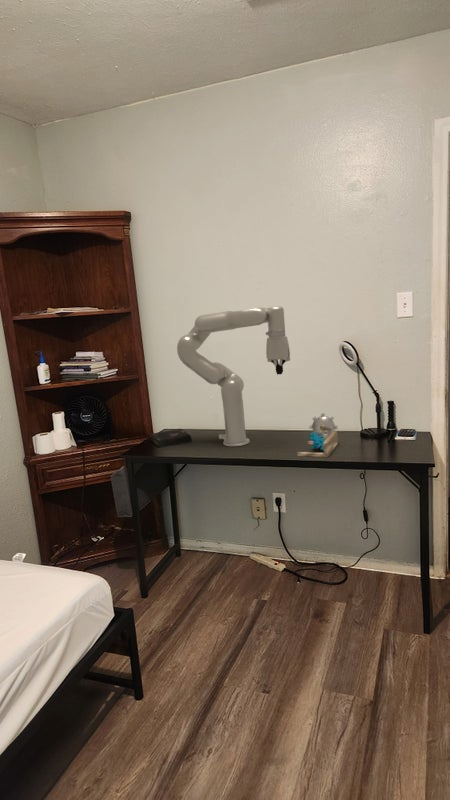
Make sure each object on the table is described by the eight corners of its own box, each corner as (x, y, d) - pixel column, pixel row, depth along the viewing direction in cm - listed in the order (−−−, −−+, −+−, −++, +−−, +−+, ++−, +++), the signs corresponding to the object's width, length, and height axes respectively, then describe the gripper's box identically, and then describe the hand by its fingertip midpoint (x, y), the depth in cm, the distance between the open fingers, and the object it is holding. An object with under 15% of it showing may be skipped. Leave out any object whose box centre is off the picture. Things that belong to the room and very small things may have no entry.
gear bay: (297, 456, 219) (296, 442, 218) (308, 443, 237) (308, 430, 236) (327, 457, 213) (326, 443, 212) (337, 443, 231) (336, 431, 230)
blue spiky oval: (322, 450, 218) (307, 432, 222) (313, 459, 221) (299, 441, 225) (334, 447, 226) (320, 429, 230) (326, 455, 229) (312, 438, 233)
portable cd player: (192, 442, 257) (191, 434, 257) (158, 448, 252) (158, 440, 251) (182, 435, 273) (181, 428, 272) (151, 441, 267) (150, 433, 266)
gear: (310, 442, 237) (308, 414, 235) (311, 440, 240) (310, 413, 238) (337, 443, 232) (335, 414, 230) (338, 441, 235) (337, 413, 233)
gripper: (258, 335, 234) (261, 375, 237) (290, 333, 228) (293, 374, 231) (264, 334, 241) (267, 373, 244) (295, 332, 235) (297, 372, 238)
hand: (279, 373), depth 238 cm, fingers closed
